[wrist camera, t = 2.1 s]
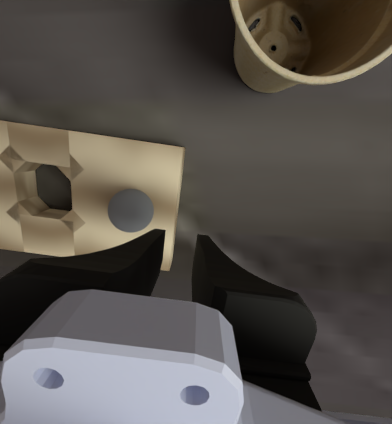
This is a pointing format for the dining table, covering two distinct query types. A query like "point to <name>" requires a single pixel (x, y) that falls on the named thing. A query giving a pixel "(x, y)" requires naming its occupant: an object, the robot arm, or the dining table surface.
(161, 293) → the dining table surface
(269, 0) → the flower pot
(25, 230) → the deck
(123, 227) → the ball
